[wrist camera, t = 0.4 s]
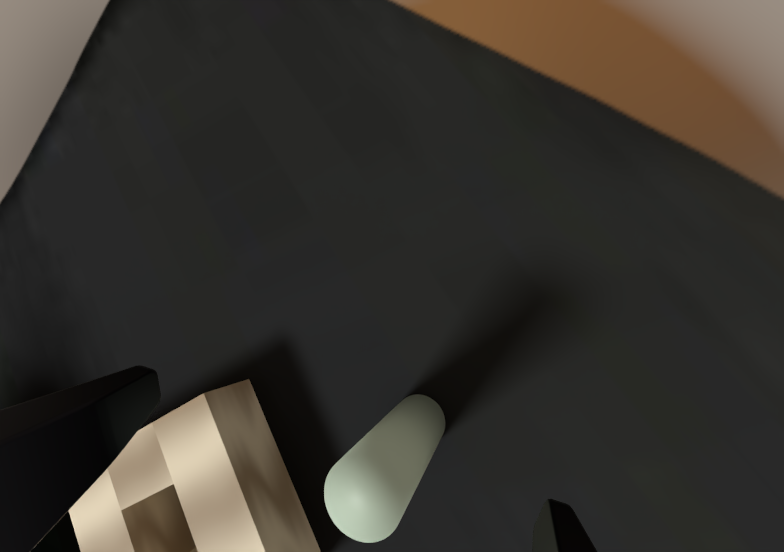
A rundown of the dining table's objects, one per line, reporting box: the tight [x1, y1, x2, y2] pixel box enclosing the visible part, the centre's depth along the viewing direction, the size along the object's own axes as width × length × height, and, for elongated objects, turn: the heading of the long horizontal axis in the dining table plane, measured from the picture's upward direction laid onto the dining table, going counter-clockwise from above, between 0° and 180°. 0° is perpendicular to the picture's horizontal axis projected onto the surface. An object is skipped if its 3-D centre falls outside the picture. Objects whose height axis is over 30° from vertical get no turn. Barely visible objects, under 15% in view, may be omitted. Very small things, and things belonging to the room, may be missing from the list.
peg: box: [324, 394, 445, 543], centre depth 18 cm, size 3×3×9 cm
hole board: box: [69, 379, 321, 552], centre depth 24 cm, size 12×13×4 cm
